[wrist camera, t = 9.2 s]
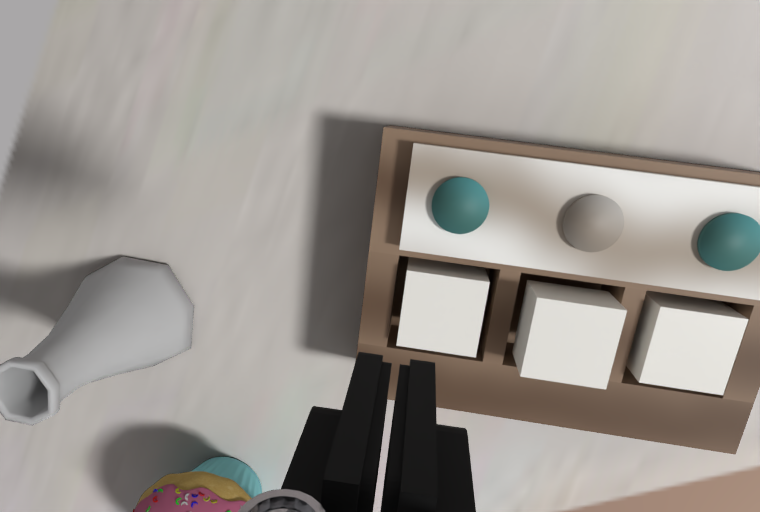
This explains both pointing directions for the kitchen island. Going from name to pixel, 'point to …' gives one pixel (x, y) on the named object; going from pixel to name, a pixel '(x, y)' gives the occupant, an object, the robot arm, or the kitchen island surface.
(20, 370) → the flask
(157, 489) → the cupcake
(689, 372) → the white square block
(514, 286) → the board
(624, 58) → the kitchen island surface
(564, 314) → the button mid
